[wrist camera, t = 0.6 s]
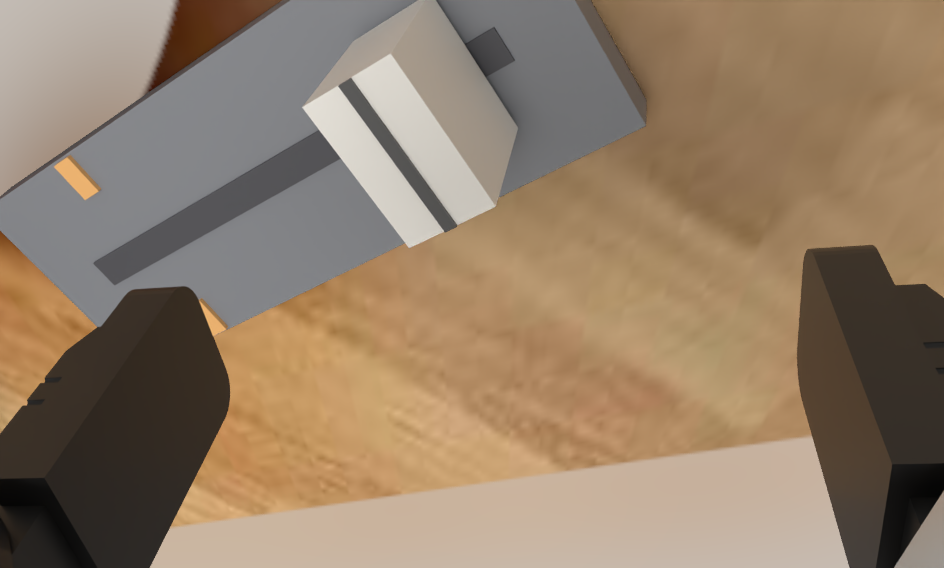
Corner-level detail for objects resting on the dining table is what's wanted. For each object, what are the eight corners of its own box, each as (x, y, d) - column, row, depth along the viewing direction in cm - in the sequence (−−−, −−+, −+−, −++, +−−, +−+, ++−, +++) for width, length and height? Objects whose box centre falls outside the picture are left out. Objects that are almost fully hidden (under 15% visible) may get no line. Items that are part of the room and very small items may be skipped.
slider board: (504, -154, 25) (494, -140, 24) (646, 100, 29) (646, 128, 27) (11, 187, 36) (-22, 214, 34) (162, 341, 40) (139, 374, 38)
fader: (430, -8, 26) (389, 54, 22) (517, 128, 28) (495, 208, 24) (353, 41, 27) (301, 108, 23) (442, 167, 29) (408, 250, 25)
